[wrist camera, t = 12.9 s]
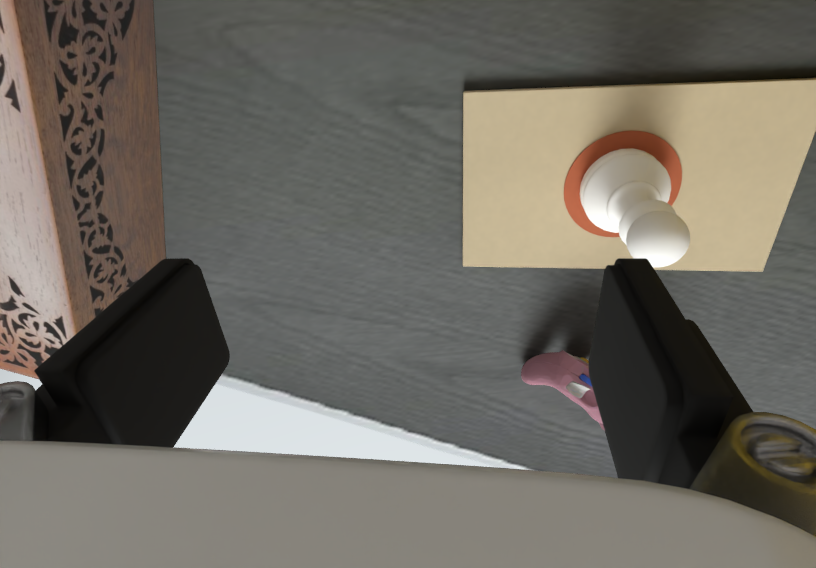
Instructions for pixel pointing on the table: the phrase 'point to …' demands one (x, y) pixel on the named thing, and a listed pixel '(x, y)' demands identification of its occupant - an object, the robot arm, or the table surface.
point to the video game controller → (564, 378)
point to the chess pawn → (635, 205)
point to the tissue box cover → (74, 167)
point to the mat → (644, 130)
